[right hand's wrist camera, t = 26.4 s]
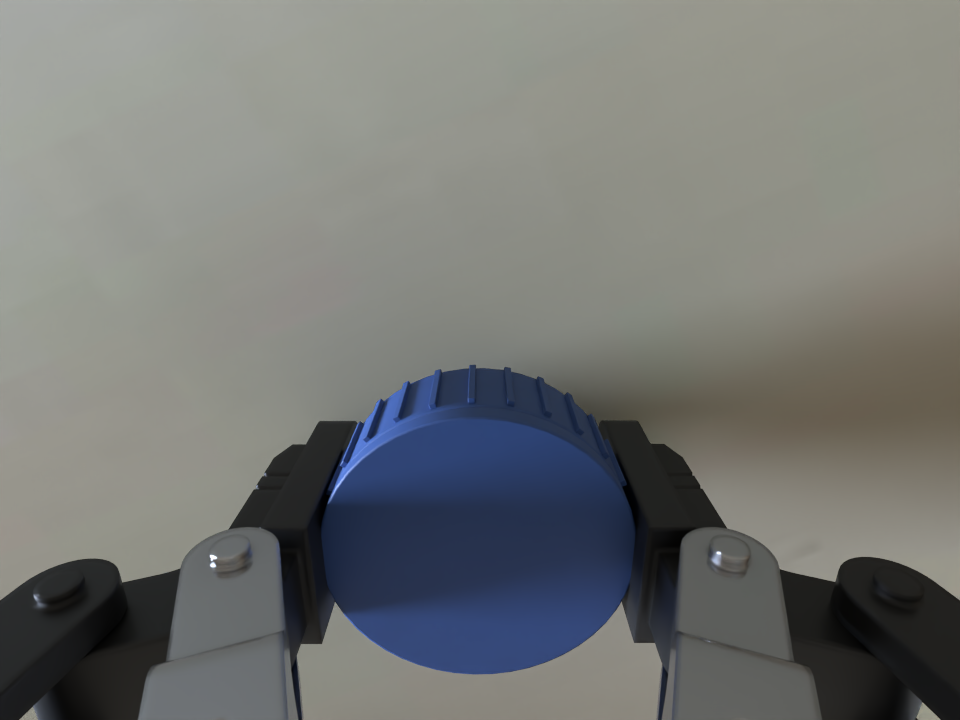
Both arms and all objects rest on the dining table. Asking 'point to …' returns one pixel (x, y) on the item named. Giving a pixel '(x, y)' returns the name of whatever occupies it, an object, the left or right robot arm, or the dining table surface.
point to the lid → (478, 524)
